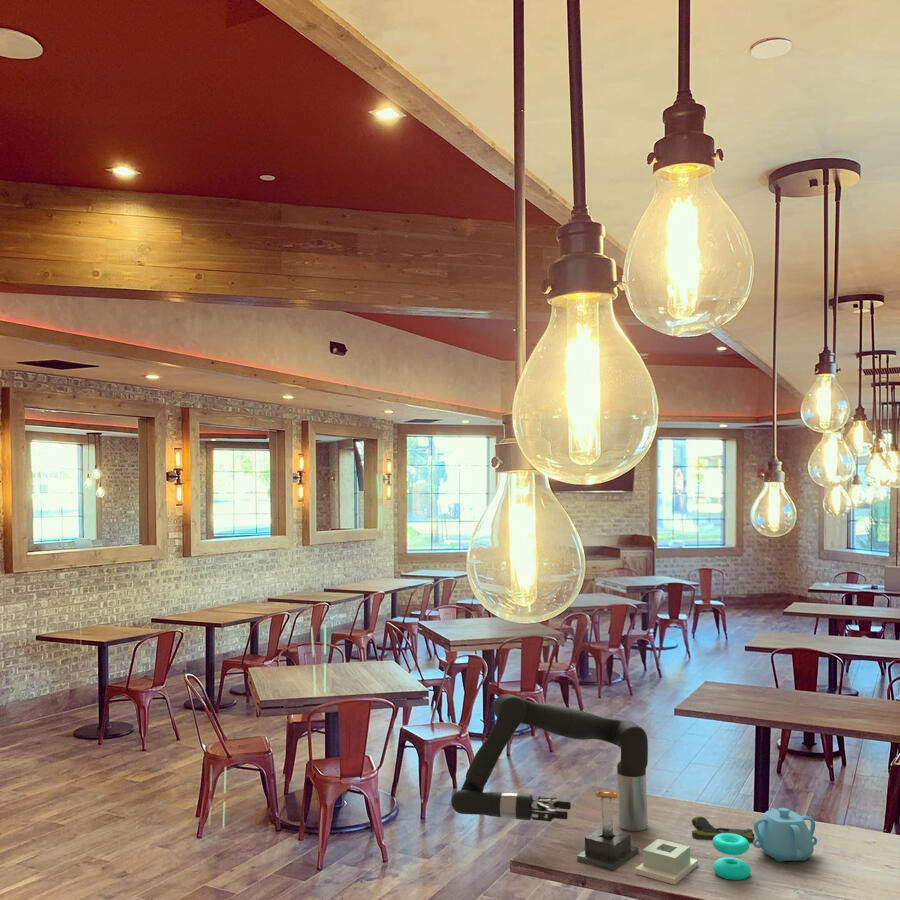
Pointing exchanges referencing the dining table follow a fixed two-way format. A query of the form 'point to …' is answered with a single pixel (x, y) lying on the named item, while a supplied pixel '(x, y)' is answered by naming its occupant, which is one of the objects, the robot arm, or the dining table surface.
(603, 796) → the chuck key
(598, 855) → the block
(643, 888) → the dining table surface
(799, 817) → the decorative pot
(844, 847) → the dining table surface
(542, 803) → the robot arm
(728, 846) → the donuts
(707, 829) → the gun
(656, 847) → the pale green socket base
